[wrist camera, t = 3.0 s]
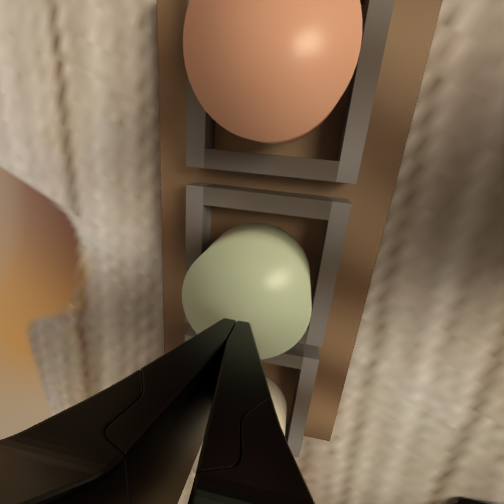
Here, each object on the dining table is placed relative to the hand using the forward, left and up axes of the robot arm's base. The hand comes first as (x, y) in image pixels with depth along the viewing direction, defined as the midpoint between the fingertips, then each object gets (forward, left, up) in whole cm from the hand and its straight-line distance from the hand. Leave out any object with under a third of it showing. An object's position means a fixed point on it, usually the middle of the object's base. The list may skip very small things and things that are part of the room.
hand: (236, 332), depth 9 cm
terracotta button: (+8, 0, -4) cm, 9 cm away
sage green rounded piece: (0, 0, -4) cm, 5 cm away
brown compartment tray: (0, 0, -7) cm, 7 cm away
